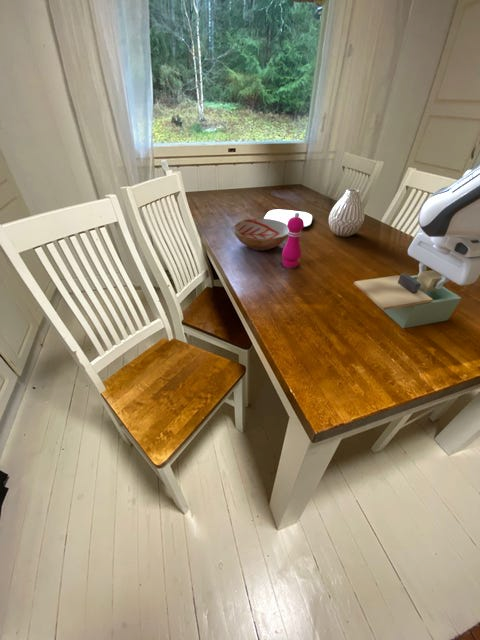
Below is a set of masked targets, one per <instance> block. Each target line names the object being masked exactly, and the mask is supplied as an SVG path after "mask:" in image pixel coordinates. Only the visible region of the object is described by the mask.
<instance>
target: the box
mask: <svg viewBox="0 0 480 640" xmlns="http://www.w3.org/2000/svg"><path fill="white" fill-rule="evenodd" d="M409 276H410V277H412V278H413V279H415V280H416V281H417V279H418V274H416V275H409ZM419 290H420V291H422V292H423V293H425V294H426V295H428V296H429V297H430V298H432V299H433V301H432V302H427V303H421V304H415V305H409V306H403V307H398V308H392V309H386V310H383V309H382V308H380V307H379V306H378V305H377V304H376V303H375V302H374V301H373V300H372V302H373V303H374V305H376V306H377V307H378V308H380V310H381V311H383V312H384V313H385V314H386V315H387V316H388V317H389V318H390V319H392V320H393V321H394V322H395V323H396V324H397V325H398V326H400V328H402V329H407V328H413V327H419V326H424V325H428V324H429V325H430V324H434V323H439V322H445V321H448V320H449V319H450V317H451V316H452V314H453V312H454V311H455V309H456V308H457V306H458V305H459V303H460V301H461V300H462V296H459V295H458V294H456V293H455V292H453V291H451V290H450V289H448V288H447V287H445V286H444V285H443V286H442V288H440V289H438V290H437V291H431V292H425V291H423V290H422V289H420V288H419Z"/></svg>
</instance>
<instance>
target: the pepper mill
mask: <svg viewBox="0 0 480 640" xmlns="http://www.w3.org/2000/svg"><path fill="white" fill-rule="evenodd" d="M287 227H288V229H289V230H288V233H287V234H288V236H287V237H288V238H287V241H286V244H285V245H284V247H283V249H282V252H281V255H282V257H283V258H282V263H281V264H282V265H283V266H284V267H286V268H296V267H298V266H299V261H300V260H299V259H300V258H301V256H302V249H301V246H300V245H301V244H300V237H301V236H302V230H303V229H304V228H305V227H304V221H303V219H302V218H300V217H299V213H295V214H294V217H292V218H290V219H289V220H288V223H287Z"/></svg>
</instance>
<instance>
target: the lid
mask: <svg viewBox="0 0 480 640" xmlns="http://www.w3.org/2000/svg"><path fill="white" fill-rule="evenodd" d="M410 276H411V275H409V274H408V273H405V272H404V273H400V275H392V276H391V275H390V276H384V277H376V278H370V279H361V280H356V281H353V285H354V286H356V288H358V289H359V290H360V291H361V292H362V293H363V294H365V295H366V296H367V297H368V298H369V299H370V300H371V301H372V302H373V301H374V302H375V303H376V304H377V305H378V306H379V307H378V306H377V305H376V304H375V303H374V302H373V303H374V304H375V305H376V306H377V307H378V308H379V309H381V308H382V309H383V310H386V309H392V308H398V307H403V306H409V305H415V304H421V303H427V302H432V301H433V299H432V298H430V297H429V296H428V295H426V294H425V293H423V292H422V291H420V290H419V287H420V285H421V283H419V282H418V281H416V280H415V279H413V278H412V277H410ZM382 309H381V310H382ZM383 310H382V311H383Z"/></svg>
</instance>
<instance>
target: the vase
mask: <svg viewBox="0 0 480 640" xmlns="http://www.w3.org/2000/svg"><path fill="white" fill-rule="evenodd" d="M364 221H365V208H364V205H363V202H362V199H361V192H360V190H359V189H356V188H347V189H346V190H345V193H344V194H343V196H342V197H341V198H340V199H338V200H337V202H336V203H335V204H334V205H333V207H332V208H331V210H330V213H329V215H328V227H329V229H330V231H331V232H332V233H333V234H334V236H335V235H336V236H337V237H343V238H347V237H351V236H353V235H355V234H356V233H357V232H359V230H361V228H362V226H363V224H364Z"/></svg>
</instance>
